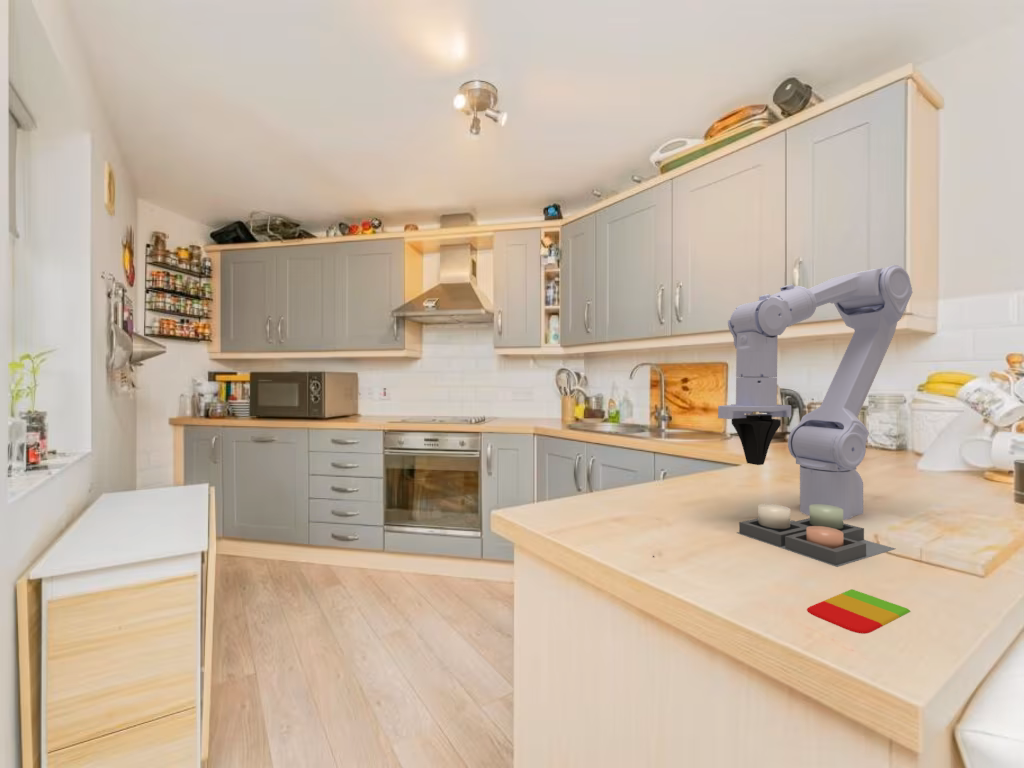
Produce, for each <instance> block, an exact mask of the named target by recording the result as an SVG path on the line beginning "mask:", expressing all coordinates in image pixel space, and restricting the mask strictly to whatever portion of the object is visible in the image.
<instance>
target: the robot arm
mask: <svg viewBox="0 0 1024 768" xmlns="http://www.w3.org/2000/svg"><path fill="white" fill-rule="evenodd" d="M779 289H780V291H778V292H775V293H773V294H769V293H765V294H763V295H760V296H759V297H758V300H757V301H752V302H747V303H743V304H739V305H738V306H737V307H736V308H735V309H734V310H733V311H732V313H731V315H730V319H728V320H727V325H728V326H727V327H728V329H729V332H730V334H731V335H732V339H733V346H734V348H735V350H736V359H735V360H736V365H735V366H736V368H735V369H736V371H735V376H736V379H735V403H733V404H729V405H718V411H717V412H718V413H717V419H724V420H731V425H732V427H733V428H734V429H735V431H736V433H737V435H738V437H739V439H740V442H741V446H742V449H743V453H744V456H745V461H746V464H749V465H755V466H762V465H764V464H765V461H766V458H767V455H768V450H769V449H770V445H771V442H772V440H773V438H774V436H775V434H776V432H777V431H778V429H779V428H780V427H781V424H782V420H781V418H782V417H783V418H791V417H792V405H790V404H778V398H777V397H778V345H779V344H778V341H779V340H778V339H779V338H778V336H781V335H782V334H783V333H784V332H785V330H786V329H787V328H789V327H791V326H794V325H796V324H798V323H801V322H803V321H805V320H808V319H810V318H811V317H812V316H813V315H814V314H815V313H816V310H817V307H818V308H819V307H821V306H823V305H827V304H829V303H830V304H834V307H835V308H836V309H837V311H838V314H839V315H840V317H841V319H842V321H843V323H844V324H845V326H847V327H848V328H850V329H853V330H854V331H853V335H852V336H851V339H850V340H849V343H848V346H847V348H846V350H845V352H844V354H843V356H842V359H841V360H840V363H839V365H838V368H837V369H836V371H835V373H834V376H833V378H832V380H831V382H830V385H829V386H828V389H827V391H826V393H825V395H824V398H823V400H822V402H821V404H820V406H819V407H817V408H815V409H814V410H812V411H811V410H810V411H809V412H807V413H806V414H804V415H803V416H802V417H801V420H800V421H799V423H798V424H797V425H795V426H794V427H793V429H791V431H790V433H789V435H788V439H787V447H788V451H789V454H790V455H791V456H792V458H794V459H795V464H796V465H799V511H800V513H802V514H804V515H806V516H809V517H810V508H809V506H810V505H813V504H824V505H831V506H836V507H839V508H842V509H843V521H844V520H845V521H846V520H850V519H852V518H853V517H855V516H859V515H863V514H864V481H863V478H862V476H861V474H860V473H859V472H858V471H857V467H858V466H859V465H861V463H862V462H863V460H864V458H865V455H866V452H867V451H866V450H867V449H866V448H867V447H866V446H867V445H866V444H867V440H868V438H869V435H870V432H869V430H868V428H867V427H866V425H865V424H864V423H863V422H862V420H860V419H859V418H858V417H859V415H860V412H861V410H862V408H863V406H864V403H865V402H866V399H867V396H868V395H869V392H870V390H871V388H872V386H873V383H874V380H875V379H876V376H877V374H878V373H879V372H878V371H879V370H880V367H881V365H882V363H883V360H884V358H885V356H886V353H887V351H888V350H889V346H890V345H891V343H892V340H893V338H894V336H895V332H896V330H897V326H898V322H899V321H901V319H902V317H903V315H904V313H905V310H906V308H907V307H908V306H907V305H908V304H909V301H910V299H911V297H912V294H913V287H912V284H911V280H910V276H909V273H908V272H907V271H906V270H905V269H904V268H903V267H902V266H900V265H899V264H893V265H892V264H891V265H888V266H887V267H884V268H883V267H879V268H874V269H868V270H862V271H858V272H857V271H856V272H853V273H852V272H851V273H847V274H844V275H839V276H834V277H832V278H829V279H827V280H824V281H822V282H820V283H818V284H816V285H813V286H812V287H809V288H807V287H805V286H801V285H794V284H793V283H792V284H791V283H790V284H787V285H784V286H781V287H780V288H779ZM757 412H758V413H757ZM779 418H780V419H779Z"/></svg>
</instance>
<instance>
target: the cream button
mask: <svg viewBox="0 0 1024 768" xmlns="http://www.w3.org/2000/svg"><path fill="white" fill-rule="evenodd" d="M757 509H758V510H757V511H758V512H757V515H758V517H757V518H758V523H759V524H760V525H762V526H765V527H770V528H776V529H786V528H790V521H791V508H790V507H787V506H785V505H781V504H775V503H774V504H773V503H760V504H758V507H757Z"/></svg>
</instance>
